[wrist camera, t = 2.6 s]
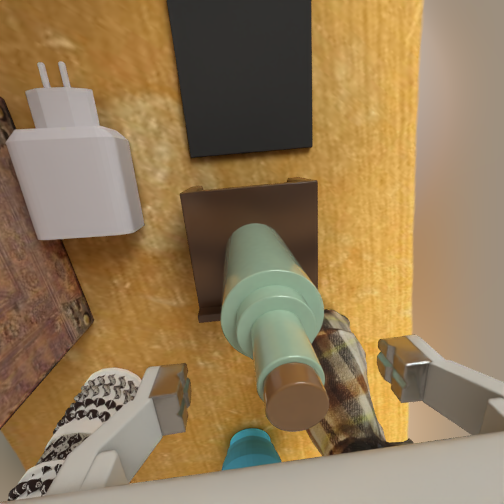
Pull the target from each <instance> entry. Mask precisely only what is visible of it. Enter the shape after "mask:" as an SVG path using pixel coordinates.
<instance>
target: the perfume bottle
mask: <svg viewBox="0 0 504 504" xmlns="http://www.w3.org/2000/svg"><path fill="white" fill-rule="evenodd" d="M280 462H281V459H280V457H279V455H278V453H277V452H276V450H275V448H274V445H273V444H272V443H271V440H270V437H269V435H268V434H267V433H266V432H265V431H263V430H260V429H256V428H249V429H244V430H241V431H239V432H238V433H236V434H235V435H234V436H233V437H232V439H231V441H230V447H229V449H228V452H227V456H226V458H225V460H224V463H223V467H222V471H223V470H230V469H238V468H245V467H252V466H259V465H266V464H273V463H280Z"/></svg>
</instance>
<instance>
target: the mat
mask: <svg viewBox="0 0 504 504" xmlns="http://www.w3.org/2000/svg"><path fill="white" fill-rule="evenodd" d="M167 5H168V11H169V18H170V25H171V31H172V38H173V44H174V51H175V57H176V64H177V70H178V77H179V84H180V90H181V97H182V103H183V110H184V116H185V123H186V129H187V136H188V143H189V149H190V156H191V158H195V157H206V156H218V155H229V154H240V153H252V152H263V151H274V150H286V149H297V148H308V147H312V43H311V0H167Z"/></svg>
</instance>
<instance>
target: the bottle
mask: <svg viewBox="0 0 504 504" xmlns="http://www.w3.org/2000/svg"><path fill="white" fill-rule="evenodd" d="M220 318H221V327H222V330H223V333H224V335H225V337H226V339H227V340H228V342H229V343H230V344H231V345H232V346H233V347H234V348H235V349H236V350H237V351H239V352H240V353H242V354H244V355H245V356H248V357H250V358H251V359H253V361H254V369H255V378H256V387H257V392H258V395H259V396H260V398H261V399H262V400H263V402H264V406H265V412H266V416H267V418H268V420H269V421H270V422H271V424H272V425H274V426H275V427H277V428H279V429H281V430H284V431H292V432H295V431H302V430H306V429H309V428H311V427H313V426H315V425H316V424H318V423H319V422H320V421H321V420H322V419H323V418H324V417H325V415H326V414H327V411H328V408H329V397H328V394H327V392H326V390H325V387H324V384H325V375H324V371H323V369H322V367H321V364H320V362H319V360H318V358H317V355H316V353H315V351H314V349H313V347H312V342H313V341H314V339H315V337H316V336H317V334H318V333H319V331H320V329H321V326H322V323H323V319H324V305H323V300H322V298H321V295H320V293H319V291H318V290H317V288H316V287H315V285H314V284H313V282H312V281H311V280H310V278H309V277H308V275H307V274H306V272H305V271H304V269H303V268H302V267H301V265H300V264H299V262H298V261H297V259H296V258H295V256H294V255H293V254H292V252H291V251H290V249H289V248H288V246H287V245H286V243H285V242H284V241H283V239H282V238H281V236H280V235H279V234H278V233H277V232H276V231H275V230H274V229H273V228H271V227H269V226H267V225H264V224H258V223H253V224H248V225H244V226H242V227H240V228H239V229H237V230H236V231H235V232H234V233H233V234H232V235H231V236H230V238H229V239H228V241H227V244H226V248H225V260H224V274H223V289H222V303H221V317H220Z"/></svg>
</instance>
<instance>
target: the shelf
mask: <svg viewBox="0 0 504 504" xmlns="http://www.w3.org/2000/svg"><path fill="white" fill-rule="evenodd" d="M180 199H181V204H182V210H183V216H184V222H185V228H186V233H187V239H188V245H189V251H190V256H191V262H192V268H193V274H194V280H195V285H196V291H197V297H198V303H199V308H200V309H199V313H198V321H199V323H204V322H212V321H221V318H220V317H221V303H222V289H223V274H224V260H225V248H226V244H227V241H228V239H229V238H230V236H231V235H232V234H233V233H234V232H235V231H236V230H237V229H239V228H240V227H242V226H244V225H248V224H253V223H258V224H264V225H267V226H269V227H271V228H273V229H274V230H275V231H276V232H277V233H278V234H279V235H280V236H281V238H282V239H283V241H284V242H285V243H286V245H287V246H288V248H289V249H290V251H291V252H292V254H293V255H294V256H295V258H296V259H297V261H298V262H299V264H300V265H301V267H302V268H303V269H304V271H305V272H306V274H307V275H308V277H309V278H310V280H311V281H312V282H313V284H314V285H315V287H316V288H317V290H318V182H317V181H316V180H311V179H305V178H300V177H293V178H288V182H285V183H275V184H264V185H254V186H243V187H232V188H222V189H211V190H203V188H202V186H197V187H191V188H189V189H187V190H186V191H184V192H182V193H180Z"/></svg>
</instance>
